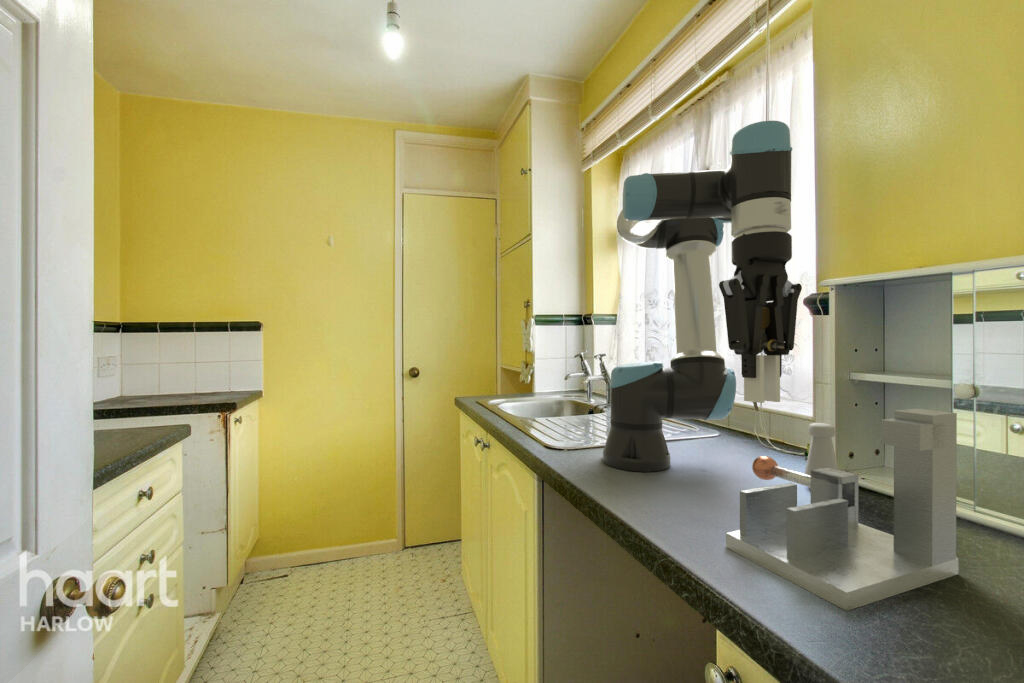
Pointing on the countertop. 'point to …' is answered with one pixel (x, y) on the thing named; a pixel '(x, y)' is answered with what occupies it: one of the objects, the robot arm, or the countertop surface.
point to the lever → (780, 472)
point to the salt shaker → (821, 448)
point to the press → (853, 546)
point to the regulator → (764, 343)
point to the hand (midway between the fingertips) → (761, 400)
